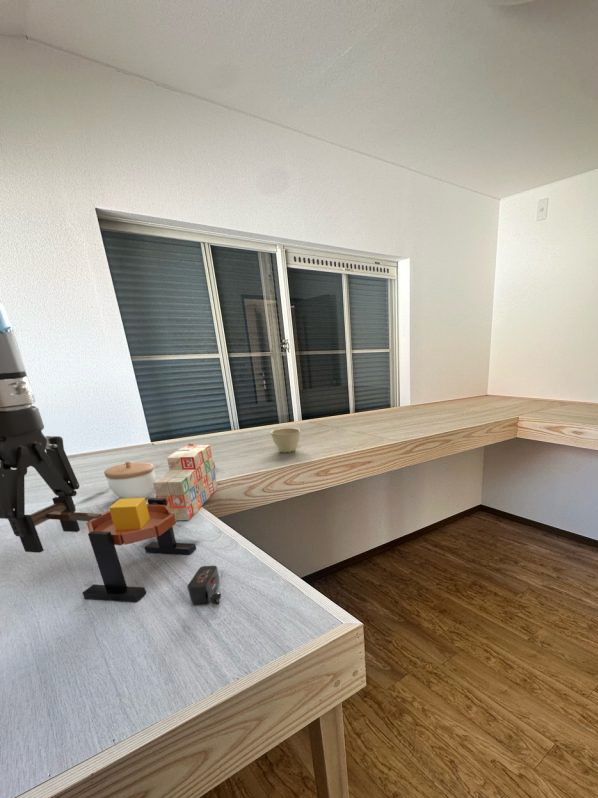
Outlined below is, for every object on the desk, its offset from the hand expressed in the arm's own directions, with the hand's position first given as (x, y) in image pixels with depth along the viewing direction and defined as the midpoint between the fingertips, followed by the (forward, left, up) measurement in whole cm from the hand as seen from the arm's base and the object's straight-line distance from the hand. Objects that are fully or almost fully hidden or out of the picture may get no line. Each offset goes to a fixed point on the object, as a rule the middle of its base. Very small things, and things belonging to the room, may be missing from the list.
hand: (54, 540), depth 73 cm
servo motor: (+31, -6, -6) cm, 32 cm away
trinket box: (-10, +34, -6) cm, 36 cm away
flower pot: (+14, +82, -6) cm, 83 cm away
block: (+16, 0, +4) cm, 16 cm away
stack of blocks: (+7, +31, -5) cm, 32 cm away
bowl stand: (+16, 0, -5) cm, 17 cm away
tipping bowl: (+11, 0, +3) cm, 11 cm away
